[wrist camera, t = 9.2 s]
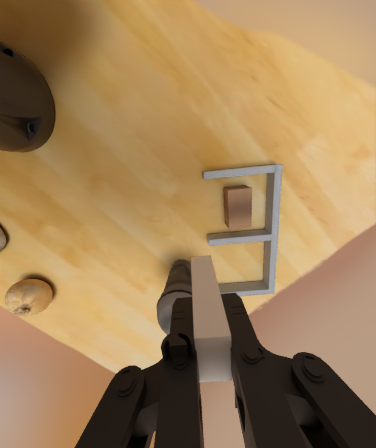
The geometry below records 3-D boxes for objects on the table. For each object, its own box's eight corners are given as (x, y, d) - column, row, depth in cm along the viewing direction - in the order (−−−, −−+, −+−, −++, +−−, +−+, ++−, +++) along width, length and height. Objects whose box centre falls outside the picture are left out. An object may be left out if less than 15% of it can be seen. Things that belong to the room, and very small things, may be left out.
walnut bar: (223, 187, 34) (227, 190, 30) (244, 185, 34) (251, 187, 30) (224, 222, 36) (229, 229, 32) (244, 220, 36) (251, 227, 32)
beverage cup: (167, 251, 38) (145, 339, 19) (201, 256, 38) (213, 346, 19) (163, 280, 40) (141, 384, 21) (195, 284, 40) (202, 390, 21)
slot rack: (202, 171, 33) (203, 172, 30) (274, 164, 32) (282, 164, 29) (210, 289, 41) (212, 298, 38) (268, 284, 40) (274, 293, 37)
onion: (35, 305, 42) (6, 331, 36) (15, 278, 40) (-20, 301, 33) (64, 297, 42) (40, 322, 35) (46, 269, 39) (17, 290, 33)
